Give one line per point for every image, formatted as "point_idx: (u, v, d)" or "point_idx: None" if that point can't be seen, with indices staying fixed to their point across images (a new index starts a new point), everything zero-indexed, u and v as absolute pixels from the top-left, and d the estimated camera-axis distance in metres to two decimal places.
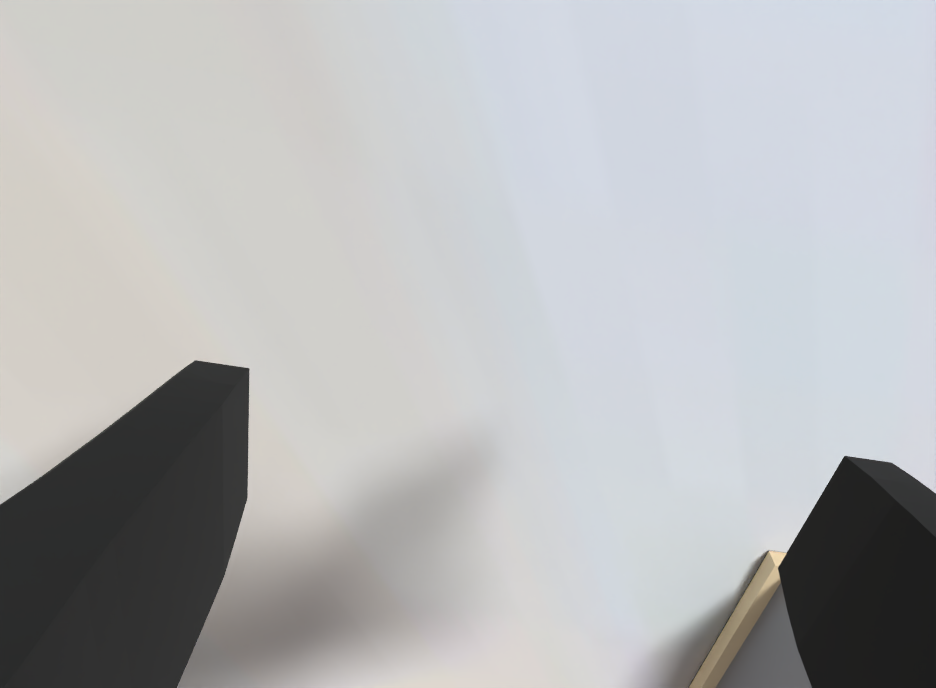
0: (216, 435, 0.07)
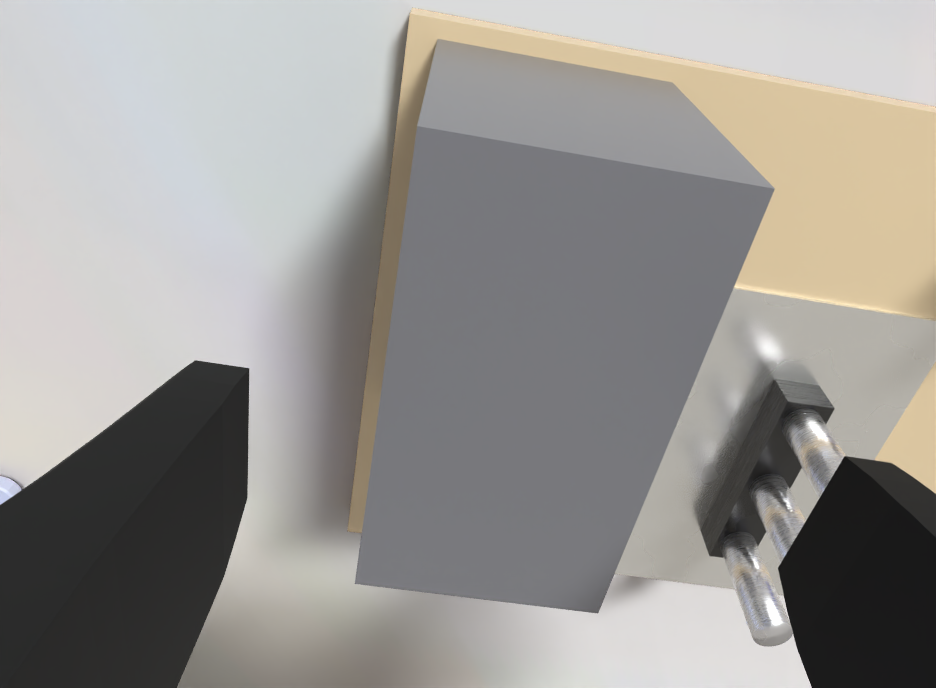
0: (216, 435, 0.07)
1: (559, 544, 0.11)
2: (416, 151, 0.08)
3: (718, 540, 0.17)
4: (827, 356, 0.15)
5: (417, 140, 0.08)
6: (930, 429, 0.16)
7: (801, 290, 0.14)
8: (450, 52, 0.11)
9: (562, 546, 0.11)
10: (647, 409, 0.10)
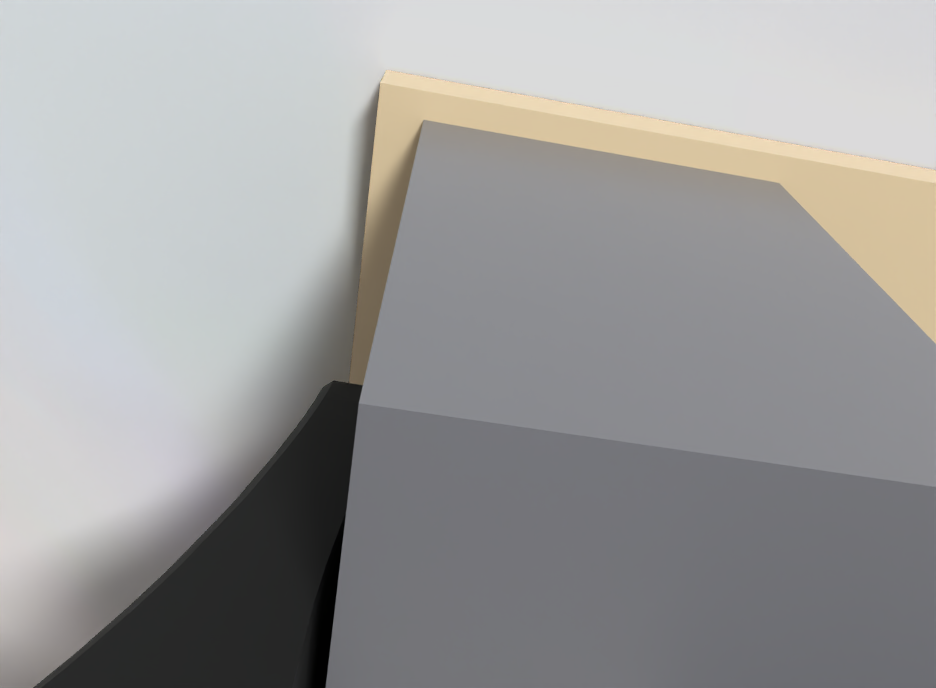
0: None
1: None
2: (359, 448, 0.04)
3: None
4: None
5: (361, 425, 0.04)
6: None
7: None
8: (442, 149, 0.07)
9: None
10: None
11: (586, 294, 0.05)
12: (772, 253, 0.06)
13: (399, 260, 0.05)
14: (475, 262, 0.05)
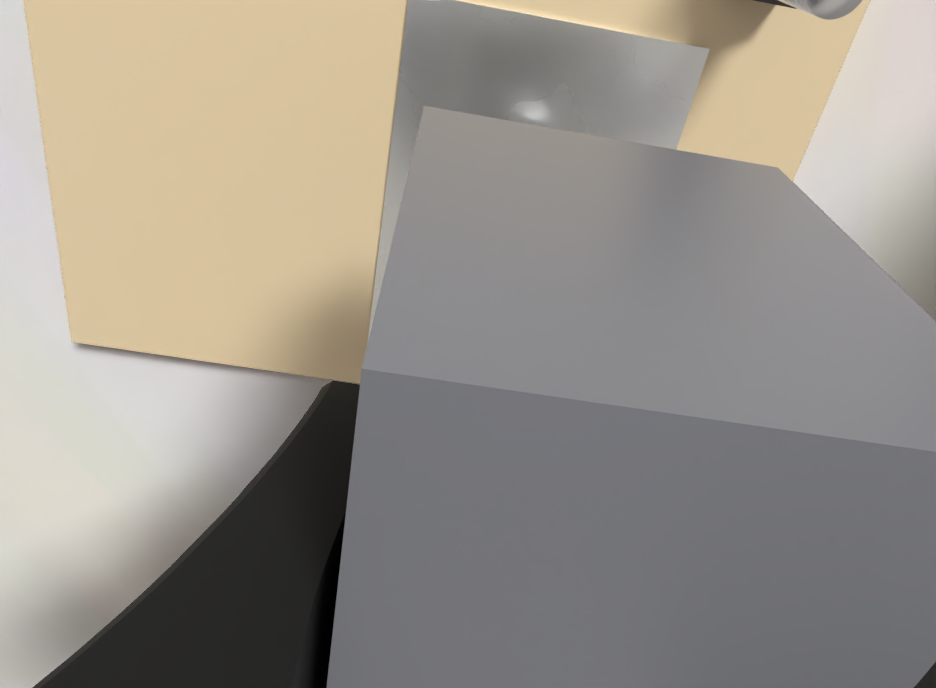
0: None
1: None
2: (362, 414, 0.04)
3: None
4: (568, 98, 0.13)
5: (364, 391, 0.04)
6: None
7: (519, 1, 0.12)
8: (442, 133, 0.07)
9: None
10: None
11: (586, 269, 0.05)
12: (771, 233, 0.06)
13: (400, 236, 0.05)
14: (476, 239, 0.05)
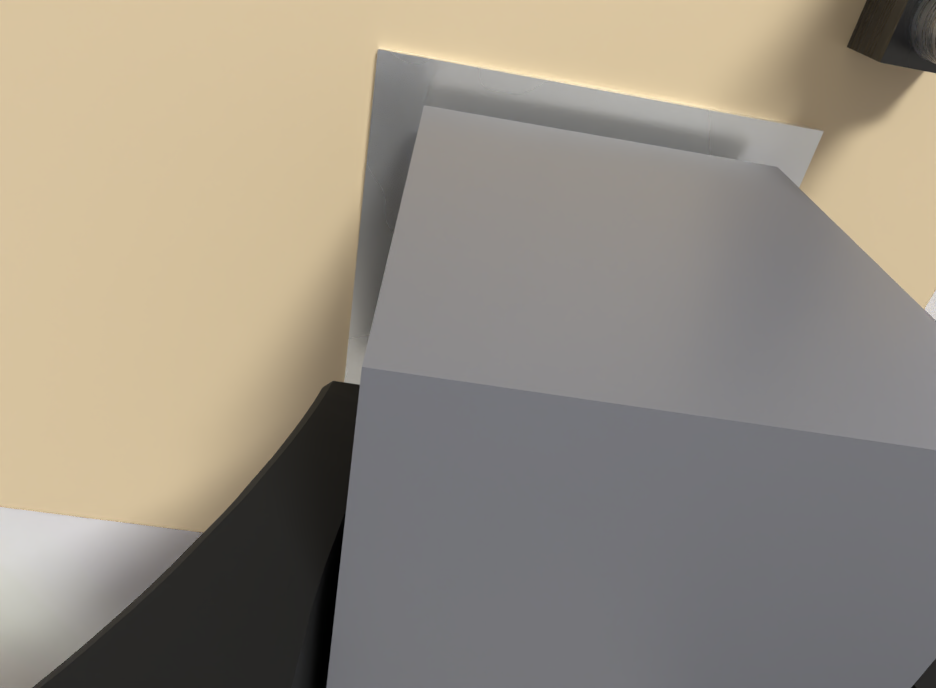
0: None
1: None
2: (362, 413, 0.04)
3: None
4: None
5: (364, 390, 0.04)
6: None
7: (543, 63, 0.08)
8: (442, 133, 0.07)
9: None
10: None
11: (586, 268, 0.05)
12: (770, 232, 0.06)
13: (400, 235, 0.05)
14: (476, 238, 0.05)
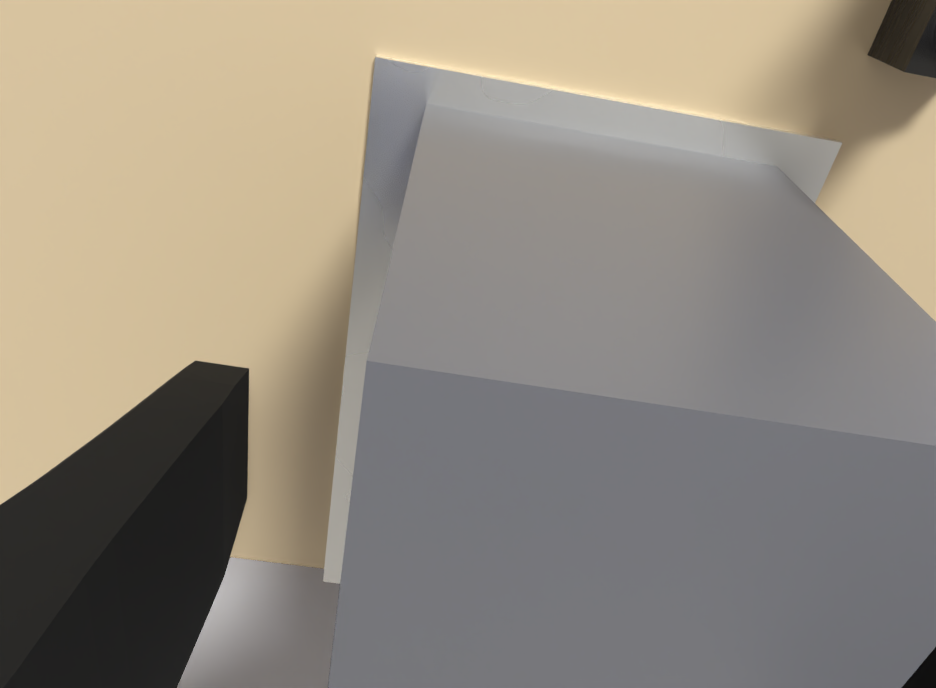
0: (216, 435, 0.07)
1: None
2: (366, 406, 0.04)
3: None
4: None
5: (368, 383, 0.04)
6: None
7: (548, 72, 0.08)
8: (444, 131, 0.07)
9: None
10: None
11: (587, 266, 0.05)
12: (770, 231, 0.06)
13: (404, 232, 0.05)
14: (478, 235, 0.05)
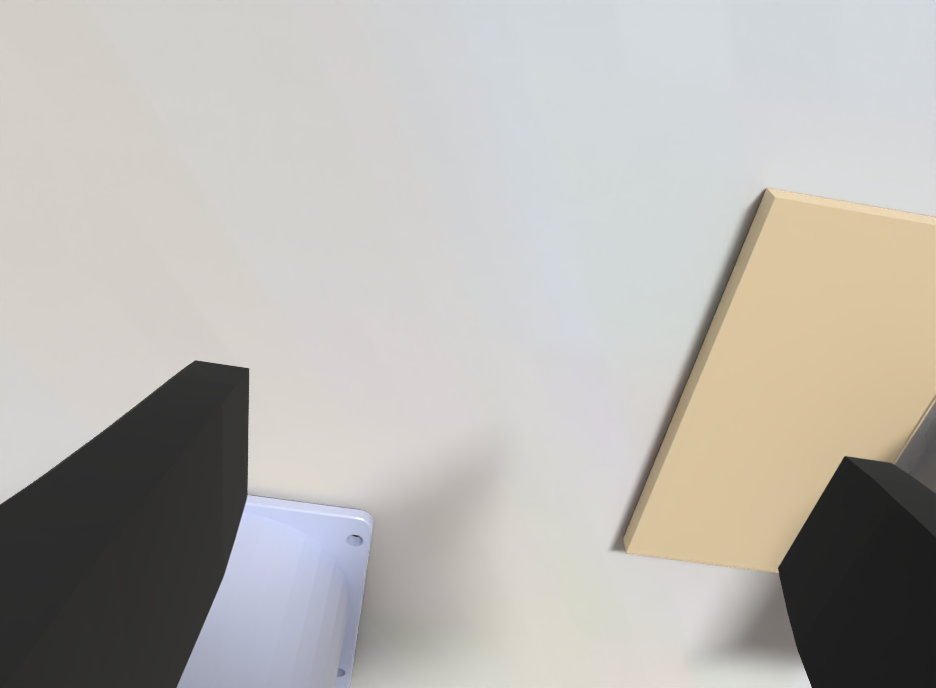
0: (216, 435, 0.07)
1: None
2: None
3: None
4: None
5: None
6: None
7: None
8: None
9: None
10: None
11: None
12: None
13: None
14: None
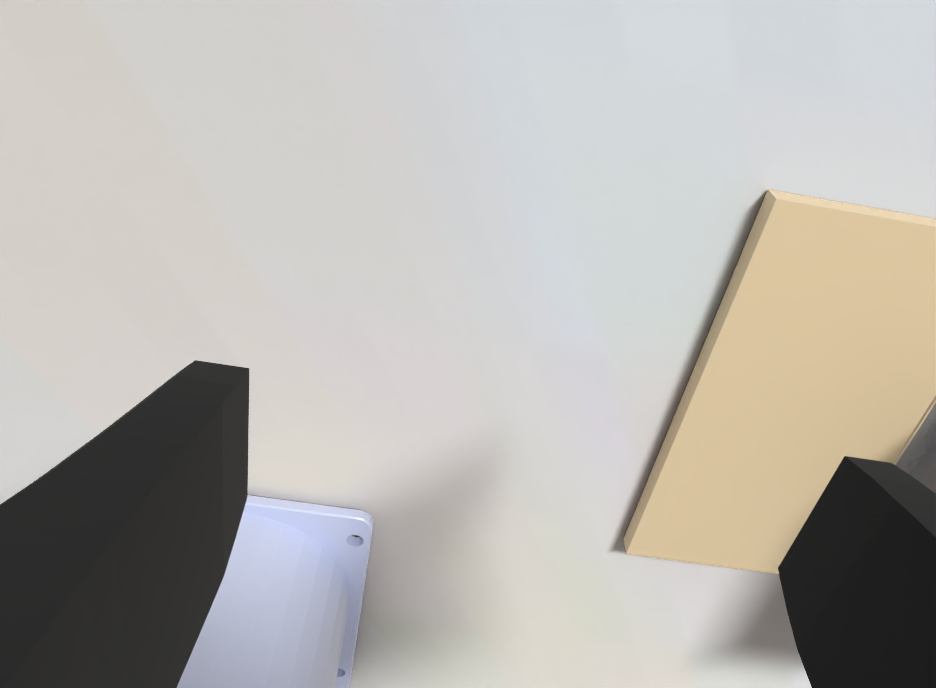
0: (216, 435, 0.07)
1: None
2: None
3: None
4: None
5: None
6: None
7: None
8: None
9: None
10: None
11: None
12: None
13: None
14: None
